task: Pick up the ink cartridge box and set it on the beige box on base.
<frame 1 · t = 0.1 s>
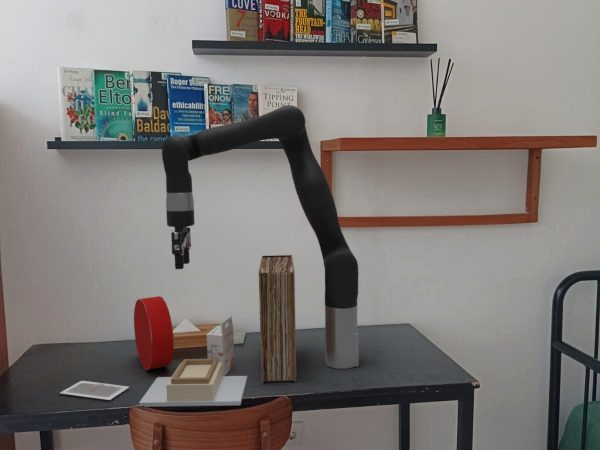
hand: (182, 266, 139), 29 cm above the table, tool pointing down, fingers open, 8 cm apart
toy clock: (154, 366, 142), on the table
touchpad: (95, 394, 126), on the table
book: (278, 366, 141), on the table
ink cartridge box: (221, 371, 138), on the table
beige box on base: (196, 392, 124), on the table
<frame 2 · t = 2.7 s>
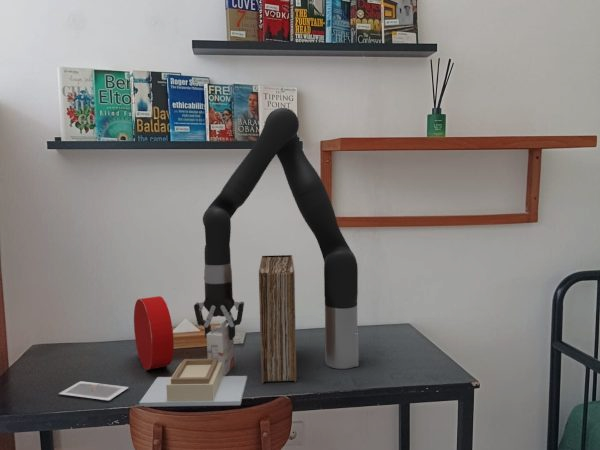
hand: (220, 339, 137), 9 cm above the table, tool pointing down, fingers closed on ink cartridge box, 5 cm apart
ink cartridge box: (221, 371, 138), on the table, touching gripper
everything else where it was.
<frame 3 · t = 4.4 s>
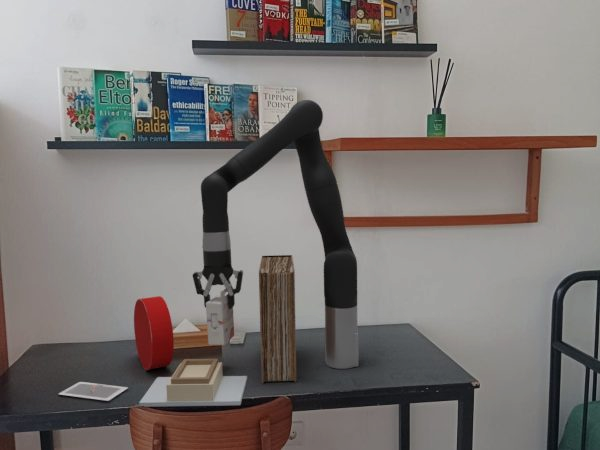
hand: (219, 308, 136), 18 cm above the table, tool pointing down, fingers closed on ink cartridge box, 5 cm apart
ink cartridge box: (221, 340, 137), point 9 cm above the table, touching gripper
everything else where it was.
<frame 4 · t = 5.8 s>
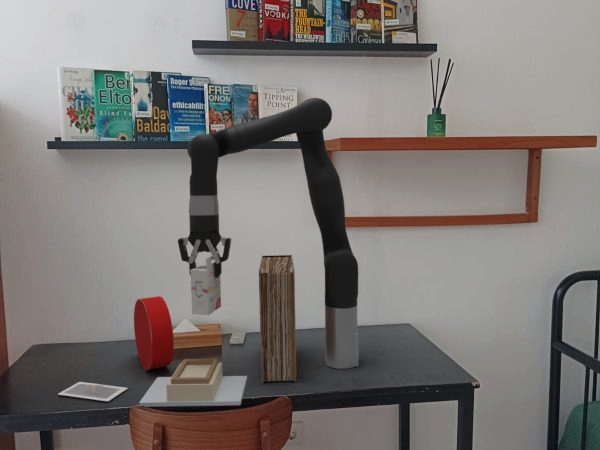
hand: (205, 276, 129), 28 cm above the table, tool pointing down, fingers closed on ink cartridge box, 5 cm apart
ink cartridge box: (206, 311, 130), point 19 cm above the table, touching gripper
everything else where it was.
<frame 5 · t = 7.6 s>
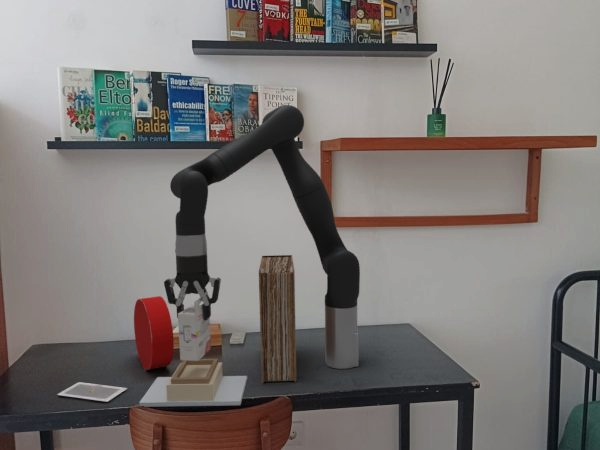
hand: (194, 319, 123), 19 cm above the table, tool pointing down, fingers closed on ink cartridge box, 5 cm apart
ink cartridge box: (195, 355, 124), point 10 cm above the table, touching gripper
everything else where it was.
when the fingers open (15 cm above the table, at t = 8.8 s): ink cartridge box drops 1 cm, resting on beige box on base.
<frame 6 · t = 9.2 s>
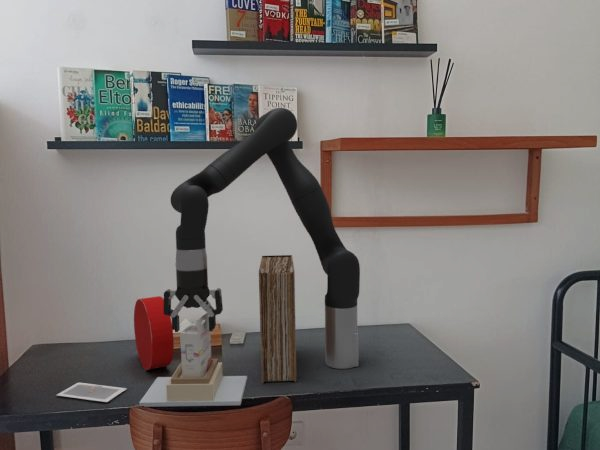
hand: (194, 330, 123), 16 cm above the table, tool pointing down, fingers open, 8 cm apart
ink cartridge box: (197, 373, 124), point 5 cm above the table, touching beige box on base
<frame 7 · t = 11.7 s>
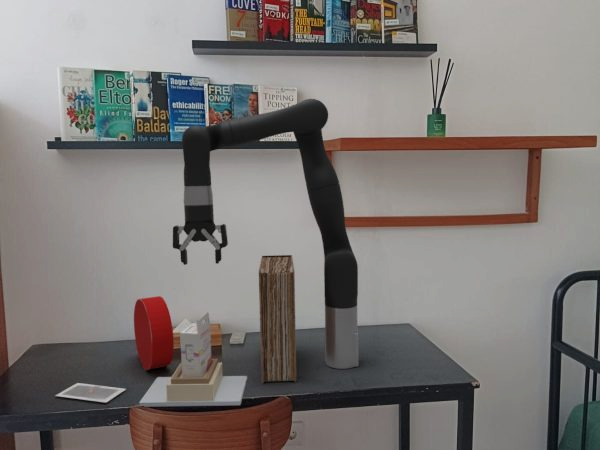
hand: (201, 263, 132), 31 cm above the table, tool pointing down, fingers open, 8 cm apart
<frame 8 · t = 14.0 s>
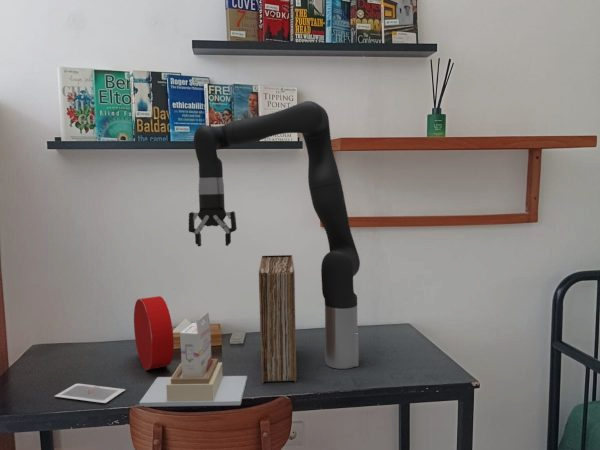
hand: (213, 245, 151), 33 cm above the table, tool pointing down, fingers open, 8 cm apart
at the end: ink cartridge box 0.3 cm off-centre on the beige box on base, point 4.8 cm above the beige box on base's base; ink cartridge box tilted 0°; the gripper is holding nothing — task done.
